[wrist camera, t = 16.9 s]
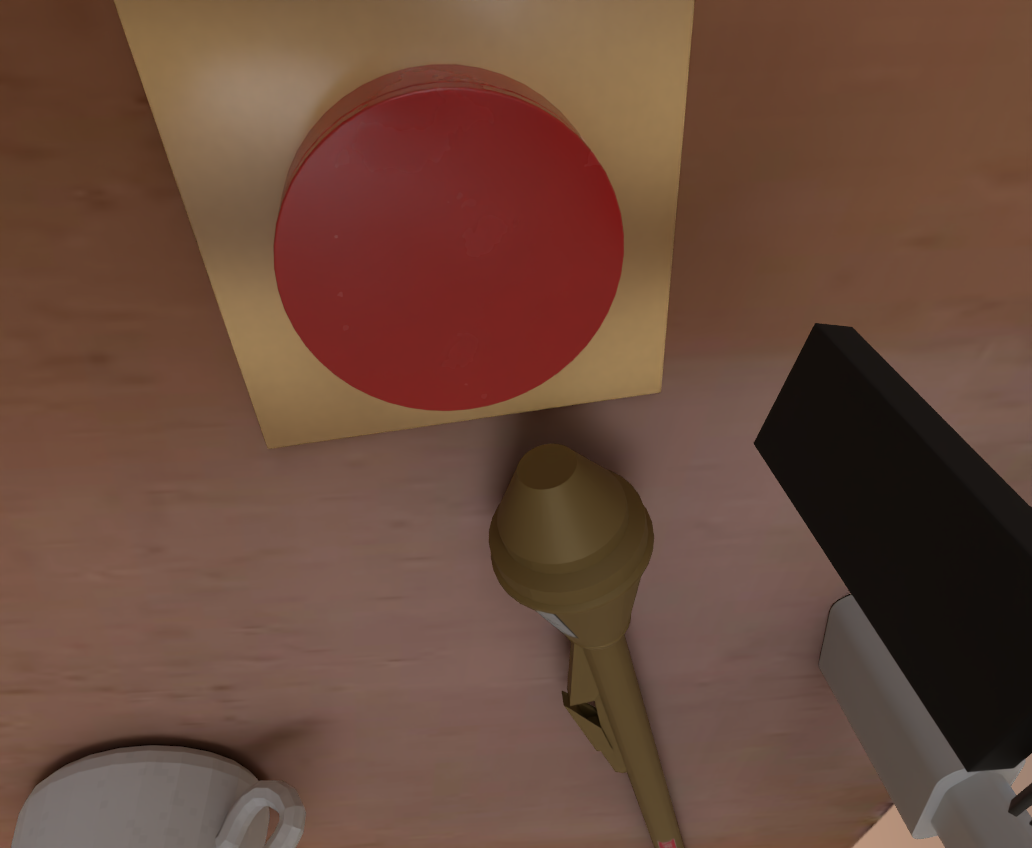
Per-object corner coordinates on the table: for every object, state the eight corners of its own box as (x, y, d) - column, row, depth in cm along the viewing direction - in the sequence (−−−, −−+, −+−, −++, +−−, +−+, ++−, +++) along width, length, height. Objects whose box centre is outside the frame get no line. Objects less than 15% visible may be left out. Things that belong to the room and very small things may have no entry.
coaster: (112, -22, 14) (106, -19, 13) (694, -71, 15) (701, -68, 14) (268, 440, 20) (267, 449, 20) (656, 385, 22) (661, 393, 21)
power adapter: (907, 582, 30) (1154, 920, 21) (883, 658, 33) (1086, 977, 24) (832, 599, 30) (1047, 946, 21) (816, 674, 33) (994, 1001, 24)
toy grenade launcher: (707, 820, 44) (628, 834, 45) (619, 385, 21) (456, 425, 21) (731, 912, 41) (645, 927, 41) (657, 515, 17) (461, 559, 18)
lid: (655, 270, 19) (679, 305, 17) (415, 418, 20) (420, 461, 19) (495, -19, 14) (510, -2, 13) (204, 200, 16) (189, 236, 14)
